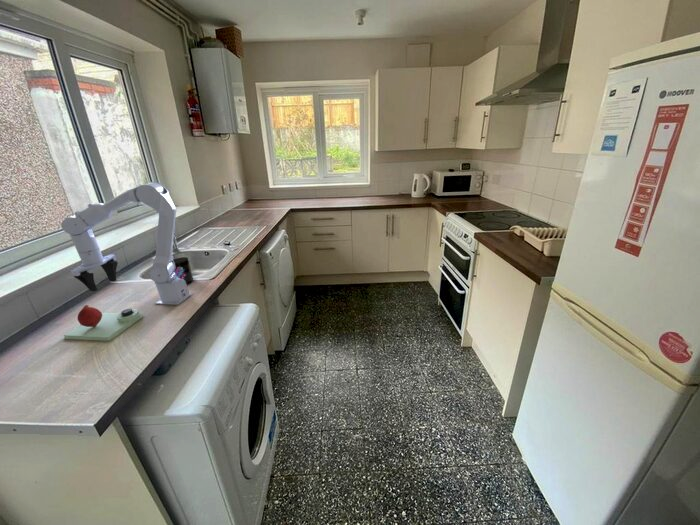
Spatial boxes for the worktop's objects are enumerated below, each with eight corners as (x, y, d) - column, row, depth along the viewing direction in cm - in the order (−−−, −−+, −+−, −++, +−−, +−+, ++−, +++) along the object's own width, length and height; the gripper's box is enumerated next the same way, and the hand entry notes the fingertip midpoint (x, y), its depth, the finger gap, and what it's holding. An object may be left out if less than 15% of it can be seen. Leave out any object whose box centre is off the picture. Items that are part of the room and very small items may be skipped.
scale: (144, 316, 101) (141, 309, 100) (110, 341, 88) (107, 333, 87) (104, 315, 103) (100, 308, 102) (65, 338, 91) (61, 331, 90)
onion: (92, 332, 91) (82, 311, 88) (78, 331, 92) (67, 309, 89) (110, 322, 96) (100, 301, 93) (96, 320, 97) (86, 300, 94)
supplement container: (175, 282, 126) (168, 260, 122) (191, 277, 130) (185, 256, 126) (179, 287, 122) (172, 264, 118) (196, 281, 126) (190, 259, 122)
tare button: (135, 312, 99) (133, 308, 98) (127, 317, 96) (126, 313, 95) (127, 312, 99) (125, 308, 98) (120, 317, 96) (118, 313, 96)
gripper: (98, 243, 105) (112, 276, 110) (56, 258, 92) (73, 295, 97) (115, 243, 104) (128, 277, 109) (75, 258, 91) (92, 295, 96)
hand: (103, 285), depth 103 cm, fingers open, 7 cm apart
